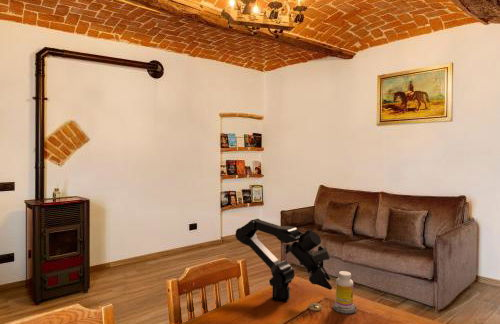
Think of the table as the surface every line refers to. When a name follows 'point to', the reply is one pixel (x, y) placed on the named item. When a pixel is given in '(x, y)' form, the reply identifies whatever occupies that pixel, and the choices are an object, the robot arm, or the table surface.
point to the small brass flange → (315, 307)
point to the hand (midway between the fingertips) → (330, 284)
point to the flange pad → (344, 309)
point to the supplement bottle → (344, 290)
